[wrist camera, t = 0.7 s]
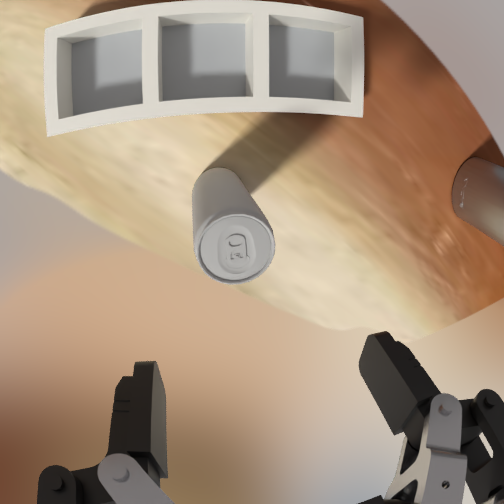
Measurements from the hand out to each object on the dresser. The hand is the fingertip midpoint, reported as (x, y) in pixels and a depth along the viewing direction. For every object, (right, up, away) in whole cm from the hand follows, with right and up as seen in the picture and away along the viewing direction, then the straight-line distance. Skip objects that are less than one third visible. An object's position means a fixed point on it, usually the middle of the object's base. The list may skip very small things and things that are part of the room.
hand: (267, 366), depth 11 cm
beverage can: (-4, +10, +17) cm, 20 cm away
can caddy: (-5, +20, +11) cm, 24 cm away
